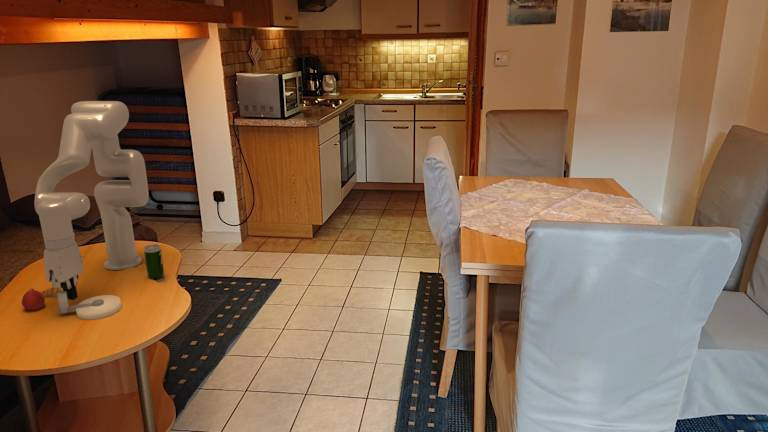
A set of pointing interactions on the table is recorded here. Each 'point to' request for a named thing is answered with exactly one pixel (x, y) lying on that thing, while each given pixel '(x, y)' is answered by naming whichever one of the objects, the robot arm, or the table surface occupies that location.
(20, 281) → the table surface
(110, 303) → the dial
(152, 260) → the beer can
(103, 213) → the robot arm
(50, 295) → the pastry
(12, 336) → the table surface
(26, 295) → the onion
